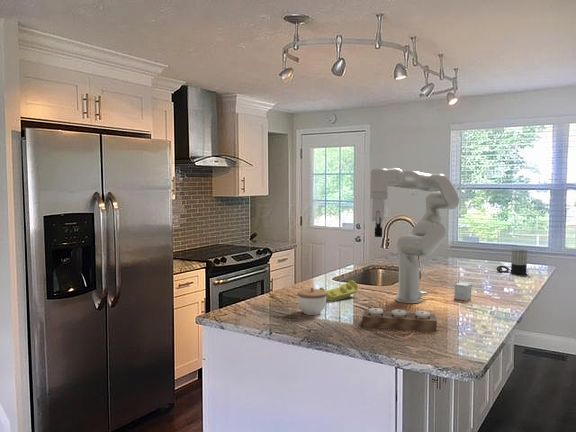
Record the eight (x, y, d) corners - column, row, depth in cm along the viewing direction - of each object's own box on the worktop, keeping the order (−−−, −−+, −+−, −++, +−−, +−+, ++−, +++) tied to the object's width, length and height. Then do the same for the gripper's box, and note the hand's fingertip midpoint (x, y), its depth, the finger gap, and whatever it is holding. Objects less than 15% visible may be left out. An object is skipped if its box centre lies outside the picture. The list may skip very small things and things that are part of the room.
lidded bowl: (317, 318, 202) (317, 292, 202) (292, 314, 209) (292, 288, 208) (331, 311, 213) (331, 286, 212) (306, 307, 220) (306, 283, 219)
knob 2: (401, 321, 196) (401, 308, 196) (409, 325, 191) (409, 311, 191) (389, 322, 194) (389, 309, 194) (396, 326, 189) (397, 313, 189)
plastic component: (331, 297, 229) (319, 285, 236) (327, 309, 233) (316, 297, 240) (362, 289, 240) (350, 277, 247) (358, 301, 244) (346, 289, 251)
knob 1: (378, 320, 198) (378, 307, 198) (385, 323, 193) (385, 310, 193) (366, 321, 196) (366, 308, 196) (373, 325, 191) (373, 311, 191)
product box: (453, 298, 237) (454, 283, 236) (459, 296, 241) (459, 282, 240) (466, 300, 232) (466, 285, 232) (471, 298, 237) (471, 283, 236)
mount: (362, 326, 191) (362, 316, 191) (364, 319, 201) (364, 309, 200) (436, 331, 184) (436, 321, 184) (434, 324, 194) (435, 314, 194)
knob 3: (424, 323, 194) (424, 309, 194) (432, 326, 189) (433, 313, 188) (412, 324, 192) (412, 311, 192) (420, 328, 187) (421, 314, 187)
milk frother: (529, 275, 296) (530, 251, 295) (503, 275, 296) (504, 251, 295) (519, 271, 310) (519, 248, 309) (494, 271, 310) (494, 247, 309)
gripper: (371, 195, 226) (371, 234, 227) (369, 196, 211) (368, 238, 213) (388, 195, 224) (387, 235, 225) (386, 196, 210) (386, 238, 211)
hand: (378, 236), depth 219 cm, fingers closed
